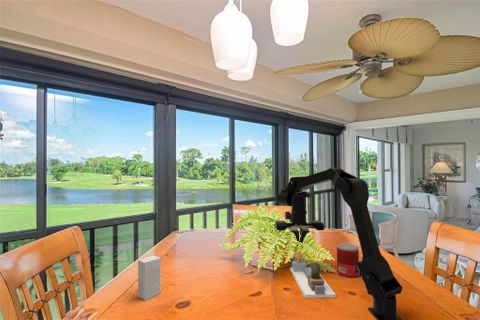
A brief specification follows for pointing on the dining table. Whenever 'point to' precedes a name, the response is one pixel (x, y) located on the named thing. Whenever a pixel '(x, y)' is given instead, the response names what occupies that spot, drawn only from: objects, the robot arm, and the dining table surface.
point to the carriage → (315, 276)
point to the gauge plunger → (298, 256)
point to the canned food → (347, 260)
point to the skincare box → (149, 277)
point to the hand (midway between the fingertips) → (299, 246)
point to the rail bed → (300, 276)
